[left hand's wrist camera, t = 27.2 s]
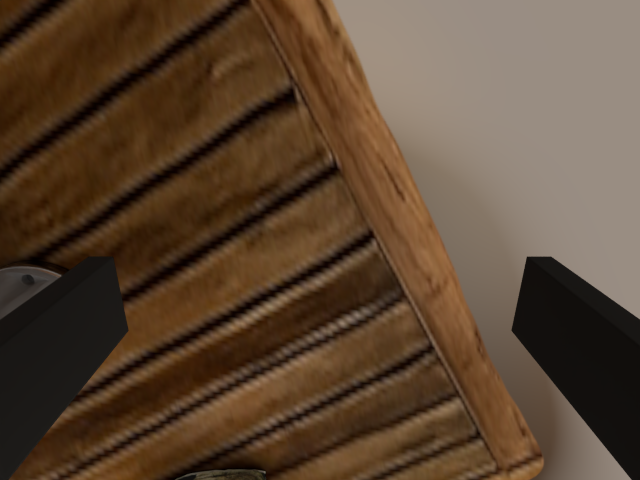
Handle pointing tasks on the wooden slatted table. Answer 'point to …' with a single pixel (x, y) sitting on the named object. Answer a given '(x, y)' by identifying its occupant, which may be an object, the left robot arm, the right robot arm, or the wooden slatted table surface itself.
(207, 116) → the wooden slatted table surface
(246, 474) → the fossil
